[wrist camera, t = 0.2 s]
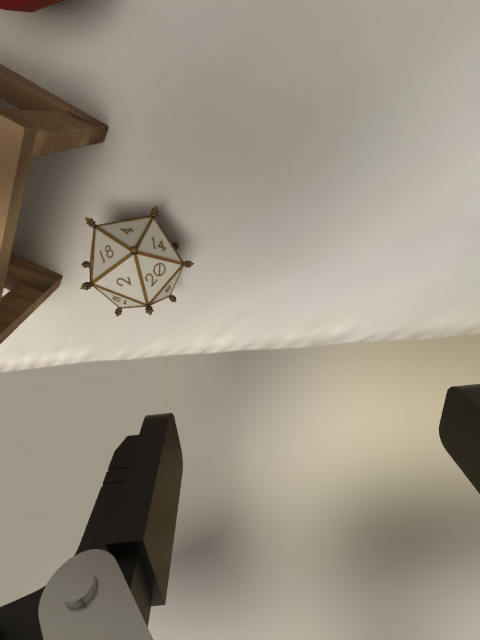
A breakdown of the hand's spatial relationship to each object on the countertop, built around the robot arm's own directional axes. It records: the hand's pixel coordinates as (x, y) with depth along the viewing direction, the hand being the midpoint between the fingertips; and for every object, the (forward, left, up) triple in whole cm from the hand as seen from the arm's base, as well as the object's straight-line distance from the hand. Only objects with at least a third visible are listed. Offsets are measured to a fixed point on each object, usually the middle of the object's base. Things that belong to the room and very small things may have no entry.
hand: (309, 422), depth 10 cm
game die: (+7, -8, -23) cm, 26 cm away
